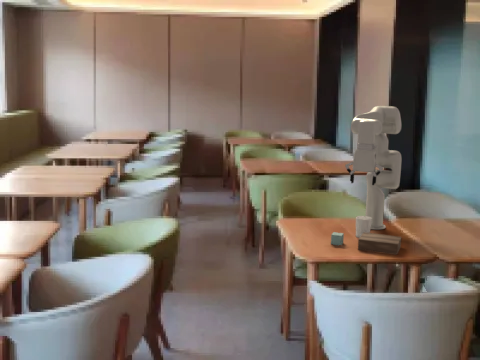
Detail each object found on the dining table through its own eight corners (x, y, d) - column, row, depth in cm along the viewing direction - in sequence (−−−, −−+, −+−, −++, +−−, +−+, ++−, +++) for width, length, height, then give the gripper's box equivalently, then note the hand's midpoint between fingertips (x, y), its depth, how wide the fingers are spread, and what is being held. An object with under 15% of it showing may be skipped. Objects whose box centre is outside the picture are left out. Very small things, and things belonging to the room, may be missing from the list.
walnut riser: (363, 242, 284) (363, 232, 283) (400, 246, 278) (401, 236, 277) (357, 249, 271) (358, 239, 271) (397, 254, 265) (397, 244, 264)
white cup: (358, 239, 290) (359, 219, 288) (352, 234, 297) (353, 215, 296) (372, 238, 291) (374, 219, 289) (366, 234, 299) (367, 215, 297)
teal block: (333, 241, 283) (333, 232, 282) (343, 243, 281) (343, 233, 281) (330, 244, 279) (331, 234, 278) (341, 245, 277) (341, 235, 276)
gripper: (385, 147, 266) (382, 184, 269) (347, 145, 271) (345, 181, 274) (383, 149, 259) (380, 186, 262) (345, 146, 264) (342, 183, 267)
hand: (362, 183), depth 268 cm, fingers open, 9 cm apart
